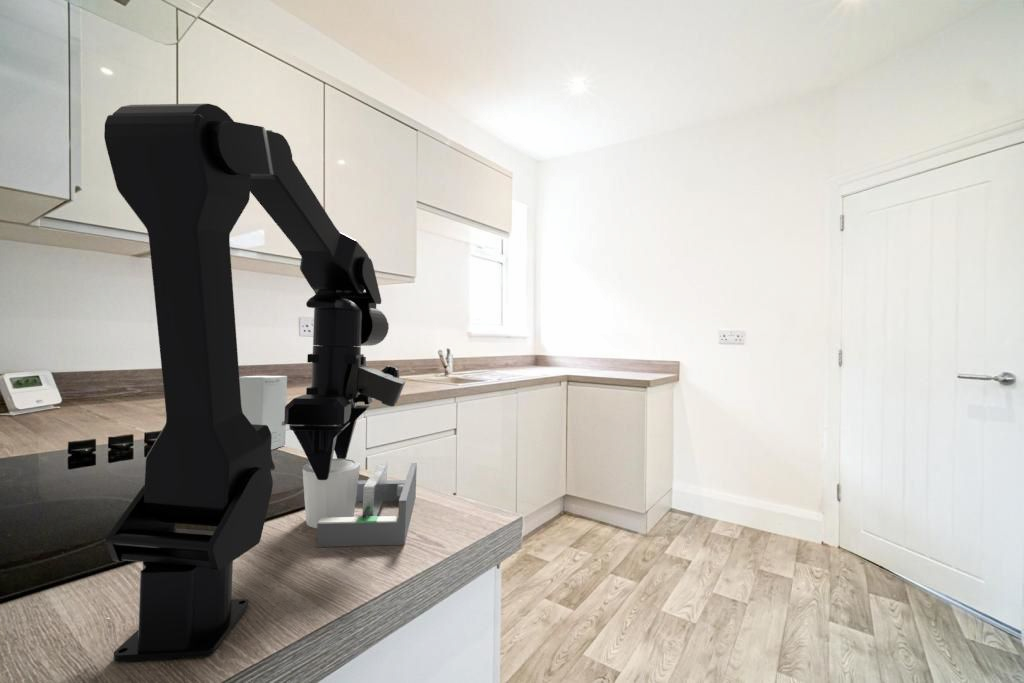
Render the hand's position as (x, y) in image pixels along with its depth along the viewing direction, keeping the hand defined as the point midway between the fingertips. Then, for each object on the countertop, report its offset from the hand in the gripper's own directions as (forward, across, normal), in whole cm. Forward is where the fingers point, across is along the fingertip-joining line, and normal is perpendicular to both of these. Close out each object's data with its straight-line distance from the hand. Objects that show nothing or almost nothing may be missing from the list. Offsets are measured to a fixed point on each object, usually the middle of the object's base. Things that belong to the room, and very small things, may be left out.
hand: (333, 468), depth 58 cm
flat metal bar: (+5, -1, -5) cm, 7 cm away
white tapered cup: (+7, 0, 0) cm, 7 cm away
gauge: (+6, 0, -5) cm, 8 cm away
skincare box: (+7, +37, +23) cm, 44 cm away
